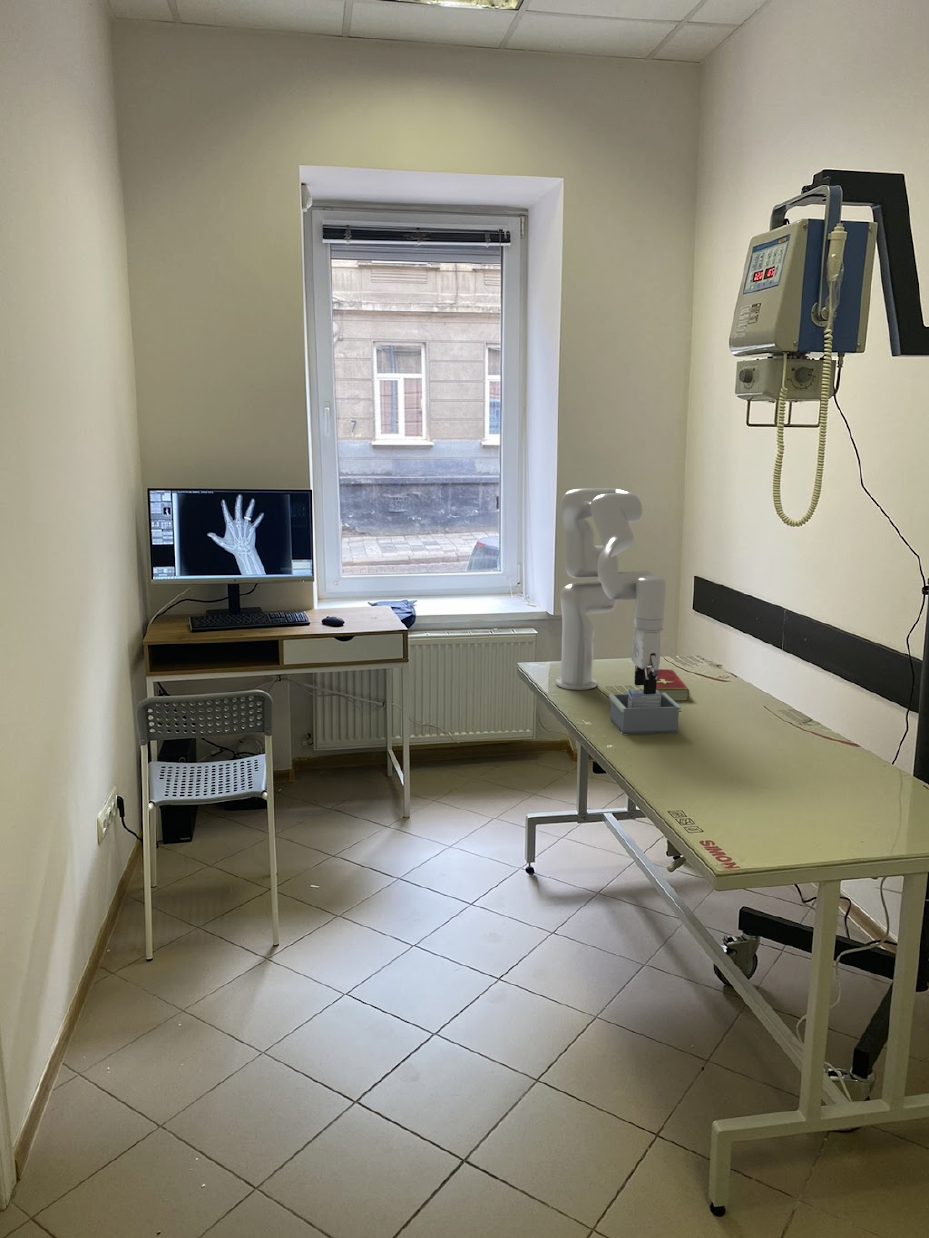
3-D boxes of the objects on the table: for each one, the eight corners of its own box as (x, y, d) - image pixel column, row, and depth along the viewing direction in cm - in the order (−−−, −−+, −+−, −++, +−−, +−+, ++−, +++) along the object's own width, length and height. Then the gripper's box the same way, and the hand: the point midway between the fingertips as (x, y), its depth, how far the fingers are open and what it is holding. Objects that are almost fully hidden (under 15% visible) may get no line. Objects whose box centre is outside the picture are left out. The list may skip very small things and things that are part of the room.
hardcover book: (672, 681, 286) (673, 668, 285) (688, 701, 266) (689, 687, 265) (634, 680, 286) (635, 667, 285) (647, 701, 266) (648, 687, 265)
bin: (608, 719, 248) (609, 694, 247) (663, 717, 250) (665, 692, 248) (621, 734, 236) (622, 708, 234) (679, 733, 238) (680, 707, 236)
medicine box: (655, 720, 245) (657, 689, 243) (659, 725, 241) (661, 694, 239) (626, 719, 245) (628, 688, 243) (629, 725, 241) (631, 693, 239)
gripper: (625, 616, 245) (621, 680, 249) (644, 631, 228) (641, 699, 232) (652, 616, 246) (648, 679, 250) (673, 631, 229) (669, 699, 233)
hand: (644, 688), depth 241 cm, fingers open, 7 cm apart
